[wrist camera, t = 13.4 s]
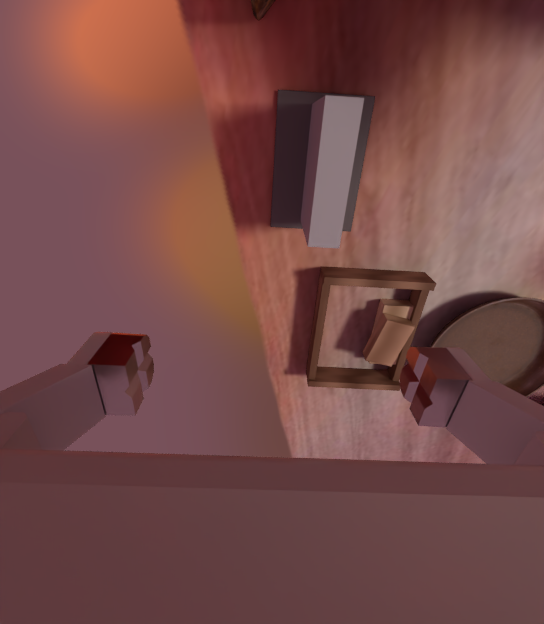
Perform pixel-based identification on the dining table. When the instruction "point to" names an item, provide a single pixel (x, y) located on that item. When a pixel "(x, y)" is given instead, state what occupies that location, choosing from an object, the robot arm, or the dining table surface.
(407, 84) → the dining table surface
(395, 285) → the brown open frame piece
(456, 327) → the plant saucer
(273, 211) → the mat
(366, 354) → the offcut short
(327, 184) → the block
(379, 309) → the block
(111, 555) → the robot arm
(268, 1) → the book
